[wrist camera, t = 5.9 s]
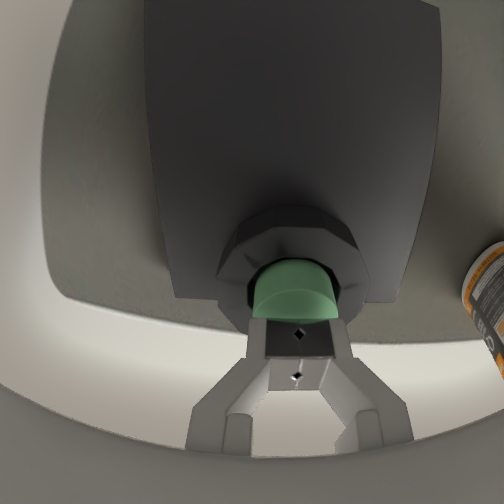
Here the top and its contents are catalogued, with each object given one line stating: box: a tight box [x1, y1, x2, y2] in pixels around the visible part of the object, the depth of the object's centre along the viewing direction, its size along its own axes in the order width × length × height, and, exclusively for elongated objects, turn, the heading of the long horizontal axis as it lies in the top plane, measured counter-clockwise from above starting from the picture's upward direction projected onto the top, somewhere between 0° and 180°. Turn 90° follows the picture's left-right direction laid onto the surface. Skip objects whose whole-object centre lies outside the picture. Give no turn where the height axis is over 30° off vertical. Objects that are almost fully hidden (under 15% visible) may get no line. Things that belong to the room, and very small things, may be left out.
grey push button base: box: [144, 0, 442, 335], centre depth 10 cm, size 15×11×4 cm
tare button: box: [253, 259, 338, 319], centre depth 10 cm, size 3×3×2 cm
